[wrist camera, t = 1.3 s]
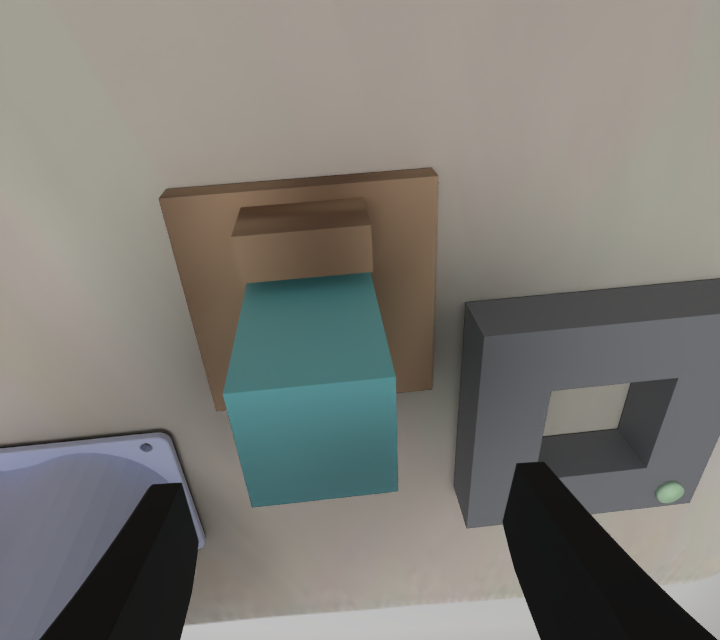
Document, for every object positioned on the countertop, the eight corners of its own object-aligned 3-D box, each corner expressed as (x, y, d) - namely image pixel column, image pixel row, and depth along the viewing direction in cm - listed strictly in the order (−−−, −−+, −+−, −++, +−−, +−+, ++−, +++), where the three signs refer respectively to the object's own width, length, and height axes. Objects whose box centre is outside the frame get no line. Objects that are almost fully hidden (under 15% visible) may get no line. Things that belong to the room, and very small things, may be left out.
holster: (220, 395, 22) (206, 457, 19) (166, 189, 17) (136, 227, 14) (427, 374, 22) (446, 431, 19) (431, 167, 17) (457, 201, 14)
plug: (268, 356, 20) (252, 507, 14) (250, 263, 18) (222, 394, 12) (370, 346, 20) (398, 491, 14) (365, 252, 18) (395, 377, 12)
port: (453, 486, 26) (468, 534, 24) (465, 302, 20) (486, 341, 18) (659, 463, 27) (693, 508, 24) (728, 277, 21) (782, 312, 19)
